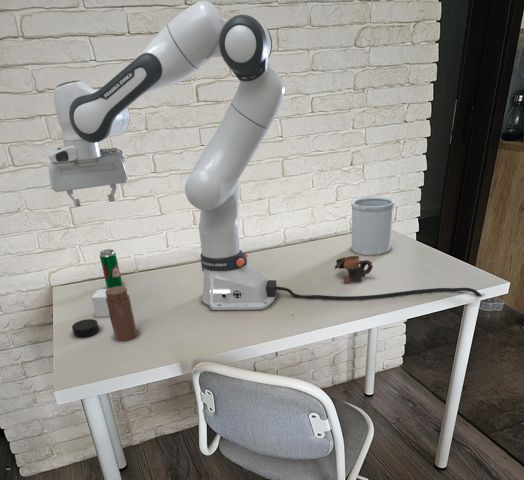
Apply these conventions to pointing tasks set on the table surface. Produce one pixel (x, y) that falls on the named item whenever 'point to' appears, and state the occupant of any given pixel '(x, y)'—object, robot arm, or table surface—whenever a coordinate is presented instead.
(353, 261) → the pottery mug
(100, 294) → the white cube
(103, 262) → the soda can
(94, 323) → the lid
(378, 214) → the utensil holder
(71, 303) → the table surface
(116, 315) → the coffee jar
